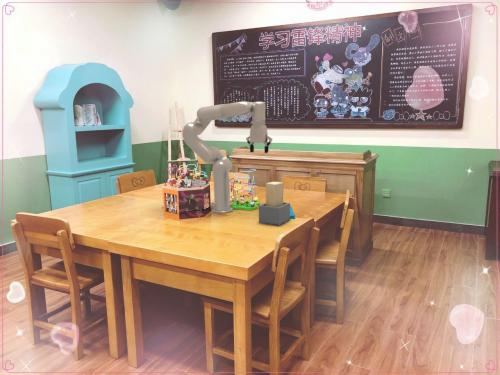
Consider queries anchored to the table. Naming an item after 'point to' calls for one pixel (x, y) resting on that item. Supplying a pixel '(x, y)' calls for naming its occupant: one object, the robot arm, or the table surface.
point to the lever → (292, 213)
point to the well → (274, 214)
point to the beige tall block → (274, 194)
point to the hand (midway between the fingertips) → (259, 152)
